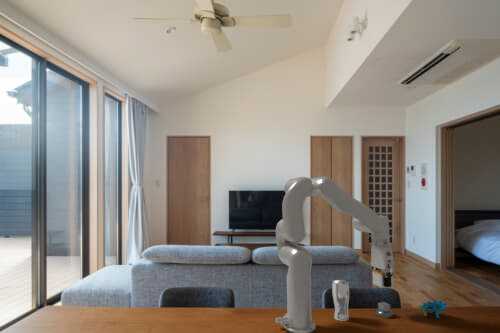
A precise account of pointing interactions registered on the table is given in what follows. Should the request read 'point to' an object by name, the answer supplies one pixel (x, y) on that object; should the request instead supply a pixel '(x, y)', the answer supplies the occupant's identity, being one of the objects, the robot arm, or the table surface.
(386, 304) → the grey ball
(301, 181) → the robot arm
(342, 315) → the beer glass
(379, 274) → the wooden tan cube
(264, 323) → the table surface
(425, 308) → the blue lumpy figure
